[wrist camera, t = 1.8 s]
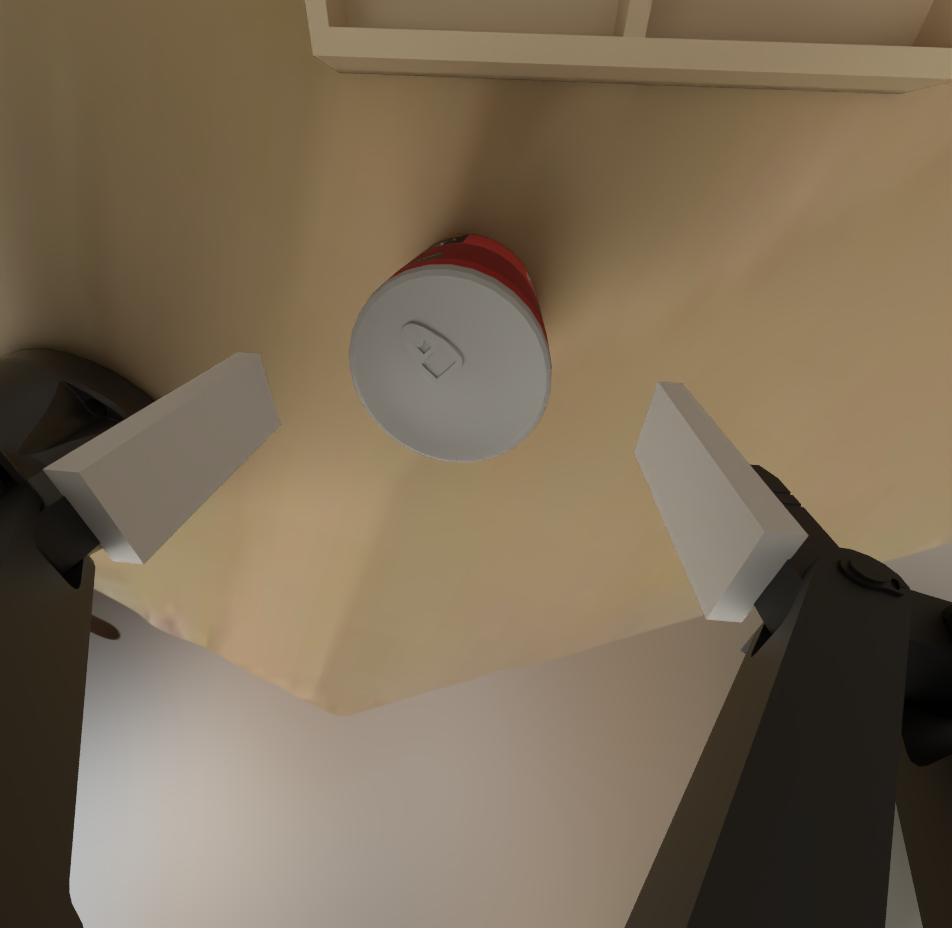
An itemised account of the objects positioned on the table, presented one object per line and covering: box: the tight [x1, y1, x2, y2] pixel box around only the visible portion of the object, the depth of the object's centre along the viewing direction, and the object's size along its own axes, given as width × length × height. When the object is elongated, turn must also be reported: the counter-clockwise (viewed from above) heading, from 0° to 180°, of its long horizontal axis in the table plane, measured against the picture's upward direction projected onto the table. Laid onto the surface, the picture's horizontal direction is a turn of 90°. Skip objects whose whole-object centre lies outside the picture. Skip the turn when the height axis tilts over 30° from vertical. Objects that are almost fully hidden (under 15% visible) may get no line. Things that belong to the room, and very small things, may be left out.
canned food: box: [349, 235, 552, 462], centre depth 19 cm, size 8×8×11 cm
